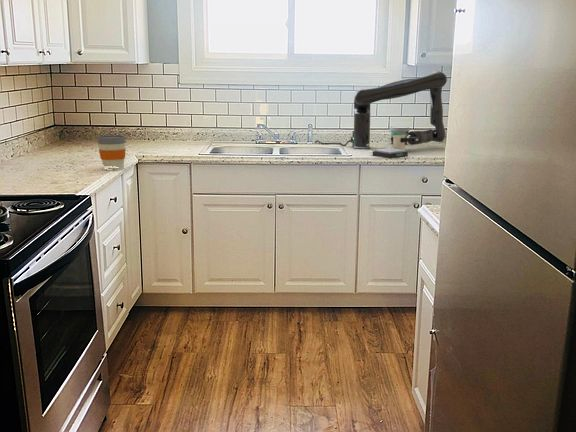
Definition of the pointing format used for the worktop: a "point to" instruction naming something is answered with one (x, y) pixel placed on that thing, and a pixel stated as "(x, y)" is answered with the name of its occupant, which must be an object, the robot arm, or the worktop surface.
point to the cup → (398, 142)
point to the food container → (399, 132)
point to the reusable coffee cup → (112, 150)
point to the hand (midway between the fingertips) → (396, 139)
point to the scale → (390, 153)
